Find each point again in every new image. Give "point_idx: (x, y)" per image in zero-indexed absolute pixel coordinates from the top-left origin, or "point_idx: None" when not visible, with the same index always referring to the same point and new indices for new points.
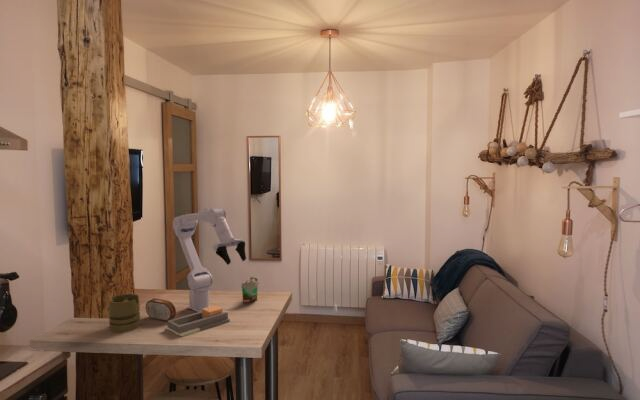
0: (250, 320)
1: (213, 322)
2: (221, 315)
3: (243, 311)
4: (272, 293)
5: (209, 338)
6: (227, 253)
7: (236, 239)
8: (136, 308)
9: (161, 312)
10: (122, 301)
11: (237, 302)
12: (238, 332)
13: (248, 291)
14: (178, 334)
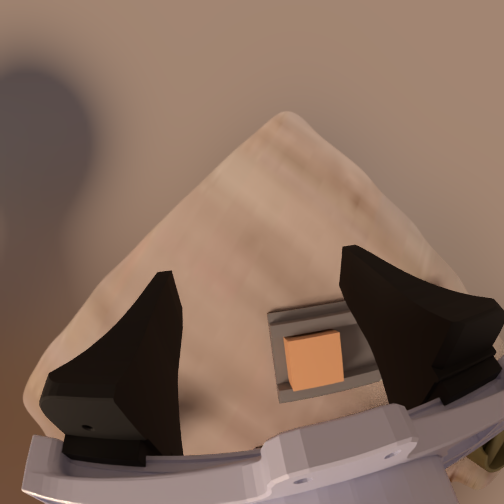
0: (208, 277)
1: (324, 314)
2: (296, 321)
3: (185, 367)
4: (50, 430)
5: (368, 226)
6: (394, 284)
7: (166, 491)
8: None
9: None
10: (501, 444)
11: None
12: (287, 211)
13: None
14: None
